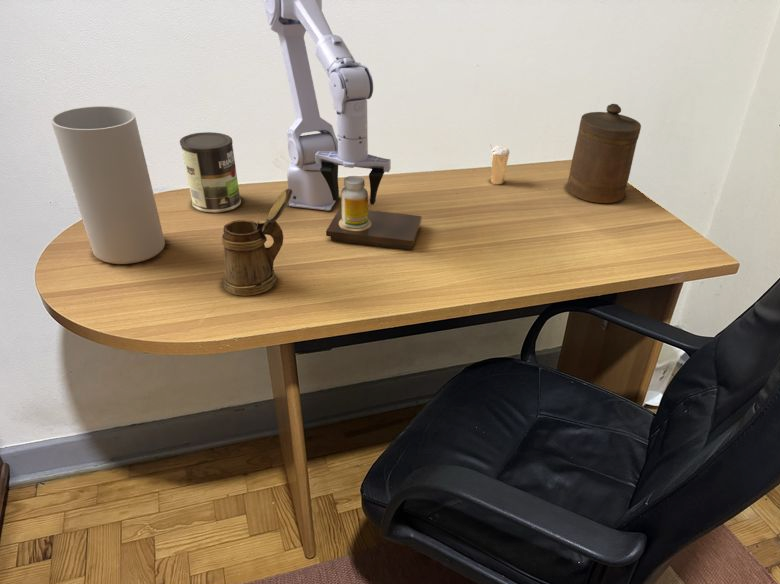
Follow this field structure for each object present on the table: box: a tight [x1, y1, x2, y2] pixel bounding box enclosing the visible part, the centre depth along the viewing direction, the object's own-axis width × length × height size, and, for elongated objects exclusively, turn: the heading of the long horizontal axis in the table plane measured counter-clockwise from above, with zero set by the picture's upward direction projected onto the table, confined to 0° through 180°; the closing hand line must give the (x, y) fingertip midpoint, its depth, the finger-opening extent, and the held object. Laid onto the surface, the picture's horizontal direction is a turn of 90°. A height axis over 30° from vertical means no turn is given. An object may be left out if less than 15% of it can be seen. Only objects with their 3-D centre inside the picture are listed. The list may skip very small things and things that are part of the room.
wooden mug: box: [221, 188, 293, 297], centre depth 109 cm, size 9×14×18 cm, turn 103°
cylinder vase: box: [50, 105, 166, 265], centre depth 112 cm, size 12×12×25 cm
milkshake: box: [489, 144, 510, 185], centre depth 159 cm, size 5×5×10 cm
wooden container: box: [566, 103, 642, 204], centre depth 155 cm, size 15×15×22 cm
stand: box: [325, 206, 423, 251], centre depth 133 cm, size 18×12×3 cm, turn 85°
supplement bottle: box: [340, 175, 369, 228], centre depth 128 cm, size 5×5×10 cm
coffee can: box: [179, 131, 242, 213], centre depth 135 cm, size 10×10×14 cm
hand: (354, 200), depth 128 cm, fingers open, 7 cm apart
